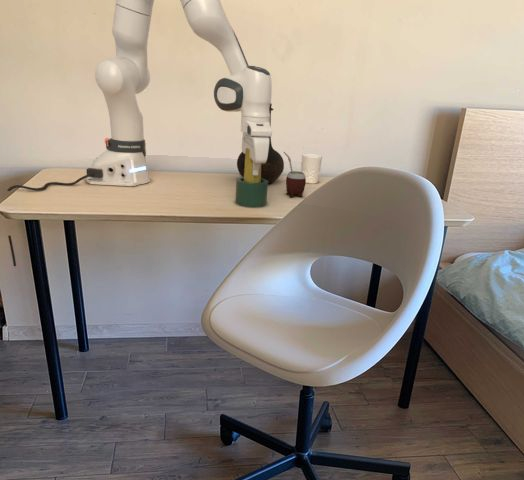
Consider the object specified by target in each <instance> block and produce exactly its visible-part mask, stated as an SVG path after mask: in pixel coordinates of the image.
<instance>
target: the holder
mask: <svg viewBox="0 0 524 480" xmlns="http://www.w3.org/2000/svg"><path fill="white" fill-rule="evenodd" d="M235 182H236V183H235V204H236V205H238V206H240V207H245V208H262V207H265V206H267V199H268V188H269V187H268V185H269V184H268V181H267V180H266V179H263V178H261V183H248V182H244V177H242V176H240V177H238V178H236V180H235Z"/></svg>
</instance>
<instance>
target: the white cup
mask: <svg viewBox="0 0 524 480" xmlns="http://www.w3.org/2000/svg"><path fill="white" fill-rule="evenodd" d="M322 162H323V155H321V154H316V153H303V154H301V171H300V172H302V173H304V174H305V177H306V184H311V185H312V184H317V183H319V177H320V172H321V168H322Z"/></svg>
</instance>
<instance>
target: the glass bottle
mask: <svg viewBox="0 0 524 480" xmlns="http://www.w3.org/2000/svg"><path fill="white" fill-rule="evenodd" d="M272 105H273V103H272V102H271V103H270V107H269V113H270V127H271V128H272V126H271V125H272V111H274V108H273V106H272ZM236 168H237V171H238V173H239V175H240V177H244V169H245V154H244V153H243V152H242V151H241V152H240V154H239V155H238V157H237V160H236ZM284 169H285V161H284V158H283V156H282V155H281V154H280V153H279V151H277V150H275V148H274V147H273V145H272V136H271V137H269V150H268V158H267V161H266V163H261V178H263V179H266V180H267V181H268V185H269V184H273V183H274V182H275V181H277V180H278V179H279V178H280V176H281V175H282V174H283V172H284Z"/></svg>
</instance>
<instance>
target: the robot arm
mask: <svg viewBox="0 0 524 480" xmlns="http://www.w3.org/2000/svg"><path fill="white" fill-rule="evenodd" d="M154 4H155V0H115V5H114V12H113V20H112V29H111V31H112V32H111V33H112V37H113V38H114V43H115V57H109V58H107V59H105V60H103V61H100V63H99V64H98V65H96V67H95V72H94V78H95V82H96V85H97V86H98V88H99V89H100V90H101V92H102V94H103V97H104V100H105V103H106V107H107V110H108V116H109V124H110V135H111V136H110V138H109V137H106V138H104V143H105V148H106V150H104V151H103V152H102V153H101V154H99V156H97V157H96V158H95V159H94V160H93V162H92V165H91V167H87V168H86V170H85V171H86V174H85V175H83V176H81V177H80V178H78V179H76V180H75V181H72V182H59V181H51V182H47V183H45V184H44V185H42V186H41V187H30V186H26V185H22V184H16V185H12V186H10V187H9V188H7V190H6V191H7V192H10V191H12V190H13V189H17V188H19V189H20V188H21V189H25V190H29V191H37V192H38V191H42V190H45V189H47V187H48V186H52V185H58V186H59V185H60V186H73V185H77V184H78V183H79V182H81V181H83V180H85V182H86V183H88V184H90V185H102V186H117V187H118V186H120V187H135V186H138V185H144V184H148V183H150V182H151V178H150V175H149V170H148V166H147V159H146V156H147V144H146V140H145V134H144V117H143V113H142V112H141V110H140V108H139V105H138V104H139V103H138V101H137V97H136V95H137V94H140V93H142V92H143V91H145V90H146V89H147V87H148V86H149V84H150V83H151V82H150V80H151V75H150V71H149V68H148V67H149V66H148V40H149V33H150V29H151V28H150V27H151V21H152V15H153V8H154ZM180 4H181V6H182V10H183V13H184V16H185V18H186V21H187V23H188V25H189V27H190V28H191V30H192V32H193V33H194V34H195V35H196V36H197V37H198V38H200V39H202V40H204V41H206V42H208V43H209V44H211V45H212V46H213V47H215V48H216V49H217V50H218V51H219V52H220V54H221V55H222V57H223V59H224V62H225V64H226V66H227V69H228V72H229V73H230V75H229V76H226V77H222V78H220V79H218V80H217V82H216V83H215V86H214V88H213V98H214V102H215V104H216V106H217V107H218V108H219V109H220V110H221V111H223V112H228V113H233V112H236V113H237V112H240V113H241V116H240V132H241V133H242V138H241V152H243V153H244V154H245V152H246V148H247V150H250V152H249V158H250V159H251V160H253V169H252V174H253V175H258V171H259V167H260V163H266V161H267V158H268V150H269V137H271V138H272V133H273V130H272V126H271V127H270V113H269V107H270V103H271V104H272V92H273V91H272V87H273V86H272V84H273V83H272V75H271V73H270V72H269V70H268V69H266V68H263V67H260V66H255V65H249V63H248V60H247V58H246V56H245V53H244V50H243V49H242V46H241V44H240V41H239V39H238V37H237V34H236V32H235V31H234V28H233V27H232V25H231V23H230V21H229V19H228V17H227V14H226V12H225V10H224V8H223V5H222V2H221V0H180ZM7 238H8V242H9V247H10V252H11V258H12V264H13V267H16V266H17V261H16V256H15V251H14V246H13V245H14V244H13V242H12V241H13V240H12V235H7Z"/></svg>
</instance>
